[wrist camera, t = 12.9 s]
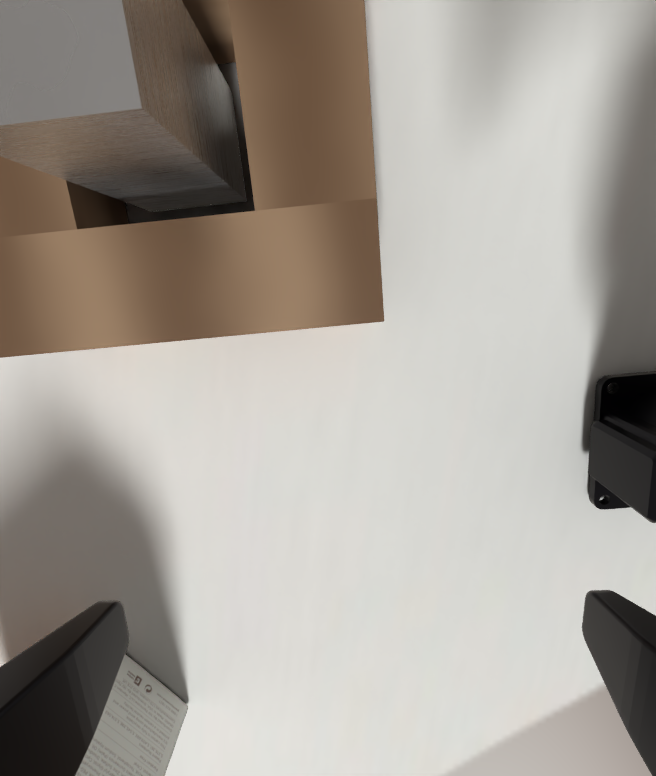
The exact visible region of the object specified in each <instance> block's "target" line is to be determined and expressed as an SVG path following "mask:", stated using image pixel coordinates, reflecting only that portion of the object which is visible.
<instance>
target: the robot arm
mask: <svg viewBox="0 0 656 776" xmlns="http://www.w3.org/2000/svg"><path fill="white" fill-rule="evenodd" d="M610 383H613V387H612V389H611V390H610V391H607V387H608V385H609V384H610ZM588 473H589V475H590V489H589V499H590V501H591V503H592V504H594V505H595V506H596V507H597V508H599V509H615V508H628V507H632V508H633V509H634V510H635V511H637V512H638V513H639V514H641V515H642V516H643V517H645V518H646V519H647V520H648V521H650V522H652V523H656V371H650V372H639V373H628V374H616V375H607V376H604V377H602V378H601V379H600V380H599V381H598V382H597V385H596V395H595V411H594V422H593V424H592V425H591V436H590V452H589V468H588ZM603 495H605V497H604V498H603V499H602V500H600V501H599V499H600V497H602V496H603ZM582 631H583V636H584V639H585V641H586V644H587V646H588V648H589V650H590V652H591V654H592V657H593V659H594V661H595V663H596V665H597V667H598V670H599V672H600V674H601V676H602V678H603V680H604V683H605V685H606V687H607V689H608V691H609V693H610V695H611V698H612V700H613V702H614V704H615V706H616V709H617V711H618V713H619V715H620V717H621V719H622V721H623V723H624V725H625V727H626V729H627V731H628V733H629V735H630V737H631V739H632V741H633V742H634V744H635V746H636V748H637V750H638V751H639V753H640V755H641V757H642V758H643V760H644V762H645V764H646V765H647V767H648V769H649V771H650V772H651V774H652V776H656V616H655V615H653V614H652V613H650V612H648V611H646V610H645V609H643V608H641V607H639V606H638V605H636V604H634V603H633V602H631V601H629V600H627V599H626V598H624V597H622V596H621V595H619V594H617V593H615V592H613V591H610V590H592V591H589V592H588V593H587V594H586V598H585V606H584V614H583V623H582ZM128 642H129V632H128V627H127V622H126V617H125V612H124V608H123V605H122V603H121V602H120V601H99V602H97V603H95V604H94V605H92V606H91V607H89V608H88V609H86V610H85V611H83V612H82V613H80V614H79V615H77V616H76V617H74V618H73V619H71V620H70V621H68V622H67V623H65V624H64V625H62V626H61V627H59V628H58V629H56V630H55V631H53V632H52V633H50V634H49V635H48V636H46V637H45V638H43V639H42V640H40V641H39V642H37V643H36V644H34V645H33V646H31V647H30V648H28V649H27V650H25V651H24V652H22V653H21V654H19V655H18V656H16V657H15V658H13V659H12V660H10V661H9V662H7V663H6V664H4V665H3V666H1V667H0V776H75V775H76V773H77V771H78V769H79V767H80V765H81V763H82V760H83V758H84V756H85V754H86V752H87V750H88V748H89V745H90V743H91V741H92V739H93V737H94V734H95V732H96V729H97V727H98V724H99V722H100V719H101V717H102V714H103V711H104V709H105V706H106V703H107V701H108V698H109V695H110V693H111V690H112V687H113V685H114V682H115V679H116V677H117V674H118V671H119V669H120V666H121V663H122V661H123V658H124V655H125V653H126V650H127V647H128Z"/></svg>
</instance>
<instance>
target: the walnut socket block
mask: <svg viewBox="0 0 656 776" xmlns="http://www.w3.org/2000/svg"><path fill="white" fill-rule="evenodd" d="M182 2H183V4H184V6H185V7H186V9H187V11H188V13H189V15H190V16H191V18H192V20H193V22H194V24H195V26H196V27H197V29H198V31H199V33H200V35H201V37H202V38H203V40H204V42H205V44H206V46H207V48H208V49H209V51H210V53H211V55H212V57H213V59H214V60H215V62H216V64H224V63H232V62H236V68H237V75H238V83H239V91H240V99H241V106H242V114H243V122H244V130H245V137H246V145H247V153H248V161H249V169H250V176H251V184H252V192H253V200H254V207H255V211H248V212H239V213H229V214H220V215H210V216H201V217H191V218H181V219H172V220H162V221H153V222H143V223H134V224H129V223H128V218H127V213H126V207H125V202H124V201H121V200H118V199H116V198H113V197H110V196H108V195H105V194H102V193H99V192H97V191H94V190H91V189H88V188H86V187H83V186H80V185H77V184H75V183H72V182H69V181H67V180H64V179H61V178H58V177H56V176H53V175H50V174H47V173H45V172H42V171H39V170H36V169H34V168H31V167H28V166H26V165H23V164H20V163H17V162H15V161H12V160H9V159H6V158H4V157H1V156H0V358H1V357H11V356H22V355H33V354H43V353H54V352H64V351H75V350H86V349H96V348H107V347H117V346H128V345H139V344H149V343H160V342H170V341H181V340H192V339H202V338H213V337H223V336H234V335H245V334H255V333H266V332H276V331H287V330H298V329H308V328H319V327H329V326H340V325H351V324H361V323H372V322H382V321H384V311H383V295H382V278H381V262H380V246H379V230H378V214H377V198H376V181H375V165H374V149H373V133H372V117H371V101H370V85H369V68H368V52H367V36H366V20H365V4H364V0H182Z"/></svg>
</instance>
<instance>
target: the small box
mask: <svg viewBox="0 0 656 776" xmlns="http://www.w3.org/2000/svg"><path fill="white" fill-rule="evenodd" d="M187 710H188V706H187V704H186V703H184V702H183V701H182V700H181V699H180V698H179V697H177V696H176V695H175V694H174V693H172V692H171V691H170V690H169V689H168V688H167V687H165V686H164V685H163V684H162V683H160V682H159V681H158V680H157V679H155V678H154V677H153V676H152V675H150V674H149V673H148V672H147V671H146V670H145V669H143V668H142V667H141V666H140V665H138V664H137V663H136V662H135V661H133V660H132V659H131V658H129V657H128V656H127V655H126V654H125V655H124V658H123V661H122V663H121V666H120V669H119V671H118V674H117V677H116V679H115V682H114V685H113V687H112V690H111V693H110V695H109V698H108V701H107V703H106V706H105V709H104V711H103V714H102V717H101V719H100V722H99V724H98V727H97V729H96V732H95V734H94V737H93V739H92V741H91V743H90V745H89V748H88V750H87V752H86V754H85V756H84V758H83V760H82V763H81V765H80V767H79V769H78V771H77V773H76V775H75V776H164V775H165V773H166V770H167V767H168V764H169V761H170V759H171V756H172V753H173V750H174V747H175V744H176V741H177V738H178V735H179V733H180V730H181V727H182V724H183V721H184V718H185V716H186V713H187Z"/></svg>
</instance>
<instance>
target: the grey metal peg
mask: <svg viewBox="0 0 656 776" xmlns="http://www.w3.org/2000/svg"><path fill="white" fill-rule="evenodd" d="M0 156H1V157H4V158H6V159H9V160H12V161H15V162H17V163H20V164H23V165H26V166H28V167H31V168H34V169H36V170H39V171H42V172H45V173H47V174H50V175H53V176H56V177H58V178H61V179H64V180H67V181H69V182H72V183H75V184H77V185H80V186H83V187H86V188H88V189H91V190H94V191H97V192H99V193H102V194H105V195H108V196H110V197H113V198H116V199H118V200H121V201H124V202H127V203H129V204H132V205H135V206H138V207H140V208H143V209H146V210H149V211H151V212H157V211H165V210H174V209H183V208H192V207H201V206H210V205H219V204H228V203H236V202H245V201H247V199H246V191H245V184H244V177H243V170H242V163H241V155H240V148H239V141H238V134H237V126H236V119H235V112H234V105H233V97H232V91H231V90H230V88H229V86H228V84H227V82H226V80H225V79H224V77H223V75H222V73H221V71H220V70H219V68H218V66H217V64H216V62H215V60H214V59H213V57H212V55H211V53H210V51H209V49H208V48H207V46H206V44H205V42H204V40H203V38H202V37H201V35H200V33H199V31H198V29H197V27H196V26H195V24H194V22H193V20H192V18H191V16H190V15H189V13H188V11H187V9H186V7H185V6H184V4H183V2H182V0H0Z"/></svg>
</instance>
